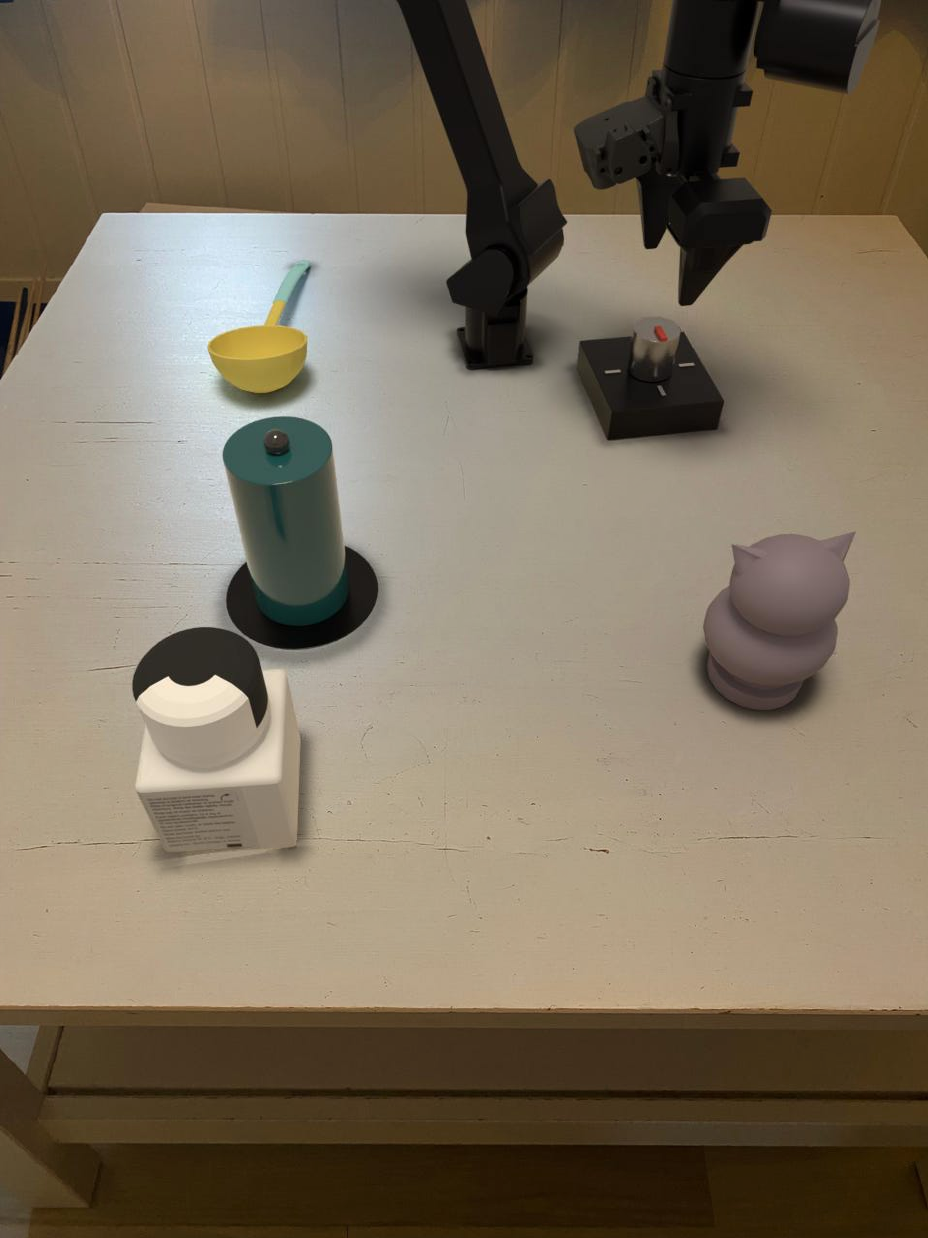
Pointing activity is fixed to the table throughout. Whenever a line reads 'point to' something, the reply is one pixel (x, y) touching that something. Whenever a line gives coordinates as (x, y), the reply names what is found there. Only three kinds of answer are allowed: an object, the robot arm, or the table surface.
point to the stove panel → (647, 391)
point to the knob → (653, 349)
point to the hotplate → (309, 636)
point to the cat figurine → (776, 618)
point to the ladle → (263, 347)
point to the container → (216, 744)
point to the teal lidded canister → (289, 518)
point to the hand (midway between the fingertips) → (667, 275)
